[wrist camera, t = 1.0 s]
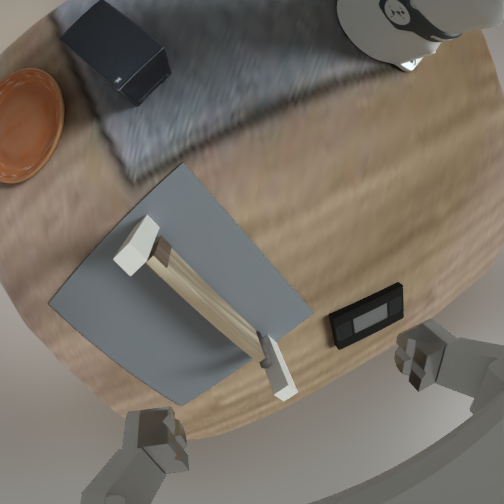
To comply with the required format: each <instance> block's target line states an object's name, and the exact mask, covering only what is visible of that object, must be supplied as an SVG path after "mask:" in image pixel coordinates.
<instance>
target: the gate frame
mask: <svg viewBox="0 0 504 504" xmlns="http://www.w3.org/2000/svg"><path fill="white" fill-rule="evenodd" d="M161 235H162V236H163V238H164V239H165V240H166V241H167V242H168V243H169V244H170V245H171V246H172V247H171V248H172V249H173V250H174V251H175V252H176V253H177V254H178V255H179V256H180V257H181V258H182V259H183V260H184V261H185V262H186V263H187V264H188V265H189V266H190V267H191V268H192V269H193V270H194V271H195V272H196V273H197V274H198V275H199V276H200V277H201V278H202V279H203V280H204V281H205V282H206V283H207V284H208V285H209V286H210V287H211V288H212V289H213V290H214V291H215V292H216V293H217V294H218V295H219V296H220V297H221V298H222V299H224V300H225V301H226V302H227V303H228V304H229V305H230V306H231V307H232V308H233V309H234V310H235V311H236V312H237V313H238V314H239V315H240V316H241V317H243V318H244V319H245V320H246V321H247V322H248V323H249V324H250V325H251V326H252V327H253V328H254V329H255V330H256V331H259V332H260V333H261V335H262V338H263V340H264V343H265V346H266V348H267V351H268V354H269V356H270V359H271V362H272V365H271V366H270V367H269V368H265V370H266V373H267V376H268V379H269V382H270V385H271V388H272V391H273V394H274V395H275V396H277V397H278V398H279V399H281V400H282V401H285V400H287V399H288V398H290V397H292V396H293V395H295V394H296V393H297V392H298V391H297V389H296V386H295V384H294V382H293V379H292V377H291V375H290V373H289V370H288V368H287V366H286V363H285V361H284V359H283V356H282V354H281V352H280V349H279V347H278V345H277V341H278V340H279V339H281V338H282V337H283V336H285V335H286V334H287V333H289V332H290V331H291V330H292V329H294V328H295V327H296V326H298V325H299V324H300V323H302V322H303V321H304V320H305V319H307V318H308V317H309V316H310V315H312V314H313V313H314V312H313V311H312V310H311V309H310V308H309V306H308V305H307V304H306V303H305V302H304V301H303V299H302V298H301V297H300V296H299V295H298V294H297V292H296V291H295V290H294V289H293V288H292V287H291V285H290V284H289V283H288V282H287V281H286V280H285V279H284V277H283V276H282V275H281V274H280V273H279V272H278V270H277V269H276V268H275V267H274V266H273V265H272V264H271V262H270V261H269V260H268V259H267V258H266V257H265V255H264V254H263V253H262V252H261V251H260V250H259V249H258V247H257V246H256V245H255V244H254V243H253V242H252V240H251V239H250V238H249V237H248V236H247V235H246V234H245V232H244V231H243V230H242V229H241V228H240V227H239V226H238V224H237V223H236V222H235V221H234V220H233V219H232V218H231V216H230V215H229V214H228V213H227V212H226V211H225V209H224V208H223V207H222V206H221V205H220V204H219V203H218V201H217V200H216V199H215V198H214V197H213V196H212V195H211V193H210V192H209V191H208V190H207V189H206V188H205V187H204V185H203V184H202V183H201V182H200V181H199V180H198V179H197V178H196V176H195V175H194V174H193V173H192V172H191V171H190V170H189V168H188V167H187V166H186V165H185V164H184V163H182V164H181V165H180V166H179V167H177V168H176V169H175V170H174V171H173V172H172V173H171V174H170V175H169V176H167V177H166V178H165V179H164V180H163V181H162V182H161V183H160V184H159V185H158V186H157V187H155V188H154V189H153V190H152V191H151V192H150V193H149V194H148V195H147V196H146V197H145V198H144V199H143V200H142V201H141V202H140V203H139V204H138V205H137V206H136V207H135V208H134V209H133V210H132V211H131V212H130V213H129V214H128V215H127V216H126V217H125V218H124V219H123V220H122V221H121V222H120V223H119V224H118V225H117V226H116V227H115V228H114V229H113V230H112V231H111V232H110V233H109V234H108V235H107V236H106V237H105V238H104V239H103V241H102V242H101V243H100V244H99V245H98V246H97V247H96V248H95V249H94V250H93V251H92V253H91V254H90V255H89V256H88V257H87V258H86V259H85V260H84V262H83V263H82V264H81V265H80V266H79V267H78V268H77V270H76V271H75V272H74V273H73V274H72V275H71V277H70V278H69V279H68V280H67V281H66V283H65V284H64V285H63V286H62V288H61V289H60V290H59V291H58V292H57V294H56V295H55V296H54V297H53V299H52V300H51V301H50V303H49V305H50V306H51V307H52V308H53V309H54V310H56V311H57V312H58V313H59V314H60V315H61V316H62V317H63V318H64V319H65V320H66V321H67V322H68V323H70V324H71V325H72V326H73V327H74V328H75V329H76V330H77V331H79V332H80V333H81V334H82V335H83V336H84V337H86V338H87V339H88V340H89V341H90V342H92V343H93V344H94V345H95V346H96V347H98V348H99V349H100V350H101V351H103V352H104V353H105V354H106V355H108V356H109V357H110V358H112V359H113V360H114V361H115V362H117V363H118V364H119V365H121V366H122V367H123V368H125V369H126V370H127V371H129V372H130V373H132V374H133V375H134V376H136V377H137V378H139V379H140V380H142V381H143V382H144V383H146V384H147V385H149V386H150V387H152V388H153V389H155V390H156V391H158V392H159V393H161V394H162V395H164V396H165V397H167V398H169V399H170V400H172V401H173V402H175V403H177V404H178V405H180V406H183V405H185V404H186V403H188V402H189V401H191V400H192V399H194V398H196V397H197V396H199V395H200V394H202V393H203V392H205V391H206V390H208V389H210V388H211V387H213V386H214V385H216V384H217V383H219V382H220V381H222V380H223V379H225V378H226V377H228V376H229V375H230V374H232V373H233V372H235V371H236V370H238V369H239V368H241V367H242V366H243V365H245V364H246V363H248V362H249V361H251V360H252V359H253V358H252V357H250V356H249V355H248V354H247V353H245V352H244V351H243V350H242V349H241V348H239V347H238V346H237V345H236V344H235V343H233V342H232V341H231V340H230V339H229V338H228V337H226V336H225V335H224V334H223V333H222V332H221V331H219V330H218V329H217V328H216V327H215V326H214V325H213V324H211V323H210V322H209V321H208V320H207V319H206V318H205V317H203V316H202V315H201V314H200V313H199V312H198V311H197V310H196V309H195V308H193V307H192V306H191V305H190V304H189V303H188V302H187V301H186V300H185V299H184V298H183V297H181V296H180V295H179V294H178V293H177V292H176V291H175V290H174V289H173V288H172V287H171V286H170V285H169V284H168V283H167V282H165V281H164V280H163V279H162V278H161V277H160V276H159V275H158V276H157V275H156V274H155V273H154V272H153V271H152V270H151V269H150V268H149V267H148V266H147V265H146V264H145V262H146V261H147V259H148V257H149V254H150V251H151V249H152V246H153V243H154V242H155V241H156V240H157V239H158V238H159V237H160V236H161Z"/></svg>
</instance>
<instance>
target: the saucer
mask: <svg viewBox="0 0 504 504" xmlns="http://www.w3.org/2000/svg"><path fill="white" fill-rule="evenodd" d="M64 119H65V105H64V99H63V94H62V91H61V89H60V87H59V85H58V83H57V82H56V80H55V79H54V78H53V77H52V76H51V75H50V74H49V73H47V72H45V71H44V70H41V69H38V68H24V69H21V70H18V71H15V72H13V73H12V74H10V75H8V76H7V77H6V78H4V79H3V80H2V81H1V82H0V182H3V183H10V184H11V183H19V182H22V181H25V180H27V179H29V178H30V177H32V176H33V175H35V174H36V173H37V172H39V171H40V170H41V169H42V168H43V167H44V166H45V165H46V163H47V162H48V161H49V159H50V158H51V156H52V155H53V153H54V151H55V150H56V147H57V145H58V143H59V140H60V137H61V134H62V130H63V126H64Z"/></svg>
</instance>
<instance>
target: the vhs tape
mask: <svg viewBox="0 0 504 504" xmlns="http://www.w3.org/2000/svg"><path fill="white" fill-rule="evenodd" d="M402 287H403V285H402V284H400V283H399V282H397V283H395V284H393V285H391V286H389V287H387V288H385V289H383V290H381V291H379V292H377V293H375V294H372V295H370V296H368V297H366V298H364V299H362V300H360V301H357V302H355V303H353V304H351V305H349V306H346V307H344V308H342V309H340V310H337V311H335V312H333V313H330V314H329V316H330V321H331V326H332V331H333V337H334V342H335V345H336V346H337V348H338V349H339V350H340V349H342V348H344V347H347V346H349V345H351V344H353V343H355V342H357V341H359V340H361V339H363V338H365V337H367V336H369V335H371V334H373V333H375V332H377V331H379V330H381V329H383V328H385V327H387V326H389V325H391V324H393V323H395V322H396V321H398V320H400V319H402V318H403V317H404V314H403V288H402Z"/></svg>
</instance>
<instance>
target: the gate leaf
mask: <svg viewBox="0 0 504 504" xmlns="http://www.w3.org/2000/svg"><path fill="white" fill-rule="evenodd" d="M171 247H172V246H171V245H170V244H169V243H168V242H167V241H166V240H165V239H164V238H163V236H162V235H161V236H160V237H159V238H158V239H157V240H156V241H155V242H154V243H153V246H152V249H151V251H150V254H149V257H148V259H147V261H146V262H145V264H146V265H147V266H148V267H149V268H150V269H151V270H152V271H153V272H154V273H155V274H156V275H157V276H158V275H159V276H160V277H161V278H162V279H163V280H164V281H165V282H167V283H168V284H169V285H170V286H171V287H172V288H173V289H174V290H175V291H176V292H177V293H178V294H179V295H180V296H181V297H183V298H184V299H185V300H186V301H187V302H188V303H189V304H190V305H191V306H192V307H193V308H195V309H196V310H197V311H198V312H199V313H200V314H201V315H202V316H203V317H205V318H206V319H207V320H208V321H209V322H210V323H211V324H213V325H214V326H215V327H216V328H217V329H218V330H219V331H221V332H222V333H223V334H224V335H225V336H226V337H228V338H229V339H230V340H231V341H232V342H233V343H235V344H236V345H237V346H238V347H239V348H241V349H242V350H243V351H244V352H245V353H247V354H248V355H249V356H250V357H252V358H253V359H254V360H255V361H257V362H258V363H259V362H260V366H261V367H262V368H269V367H270V366H271V365H272V362H271V359H270V356H269V354H268V351H267V348H266V346H265V343H264V340H263V338H262V335H261V333H260V332H259V331H256V330H255V329H254V328H253V327H252V326H251V325H250V324H249V323H248V322H247V321H246V320H245V319H244V318H243V317H241V316H240V315H239V314H238V313H237V312H236V311H235V310H234V309H233V308H232V307H231V306H230V305H229V304H228V303H227V302H226V301H225V300H224V299H222V298H221V297H220V296H219V295H218V294H217V293H216V292H215V291H214V290H213V289H212V288H211V287H210V286H209V285H208V284H207V283H206V282H205V281H204V280H203V279H202V278H201V277H200V276H199V275H198V274H197V273H196V272H195V271H194V270H193V269H192V268H191V267H190V266H189V265H188V264H187V263H186V262H185V261H184V260H183V259H182V258H181V257H180V256H179V255H178V254H177V253H176V252H175V251H174V250H173V249H172V248H171Z"/></svg>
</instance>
